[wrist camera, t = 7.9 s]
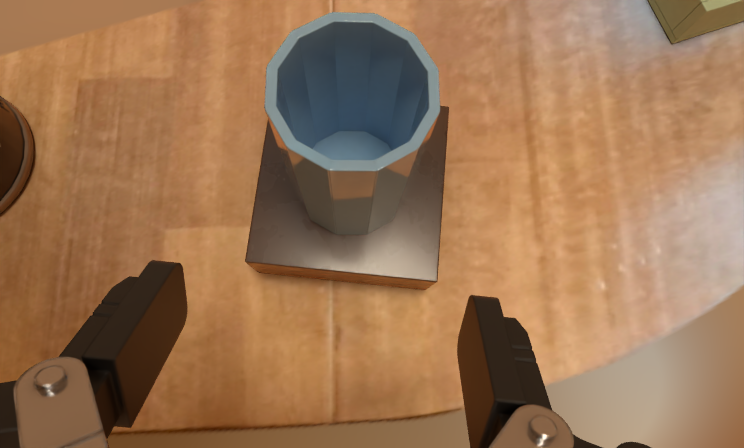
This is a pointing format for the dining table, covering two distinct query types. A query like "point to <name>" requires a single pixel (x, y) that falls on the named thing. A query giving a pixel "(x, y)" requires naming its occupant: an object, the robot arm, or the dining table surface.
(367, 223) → the cup
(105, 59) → the dining table surface
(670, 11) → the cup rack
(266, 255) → the brown square block
